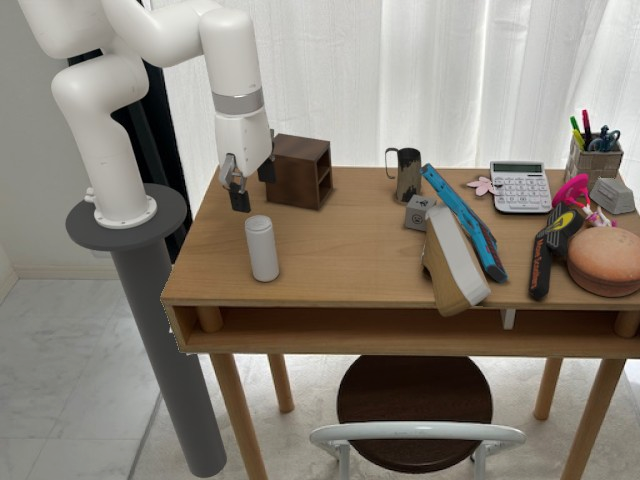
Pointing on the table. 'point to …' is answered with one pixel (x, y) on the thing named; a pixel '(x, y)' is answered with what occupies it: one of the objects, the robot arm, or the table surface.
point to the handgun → (468, 223)
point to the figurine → (572, 193)
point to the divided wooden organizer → (301, 172)
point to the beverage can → (262, 248)
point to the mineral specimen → (613, 195)
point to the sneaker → (451, 263)
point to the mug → (407, 174)
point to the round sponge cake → (605, 261)
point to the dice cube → (418, 211)
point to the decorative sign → (552, 245)
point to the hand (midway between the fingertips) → (255, 196)
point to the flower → (482, 186)
